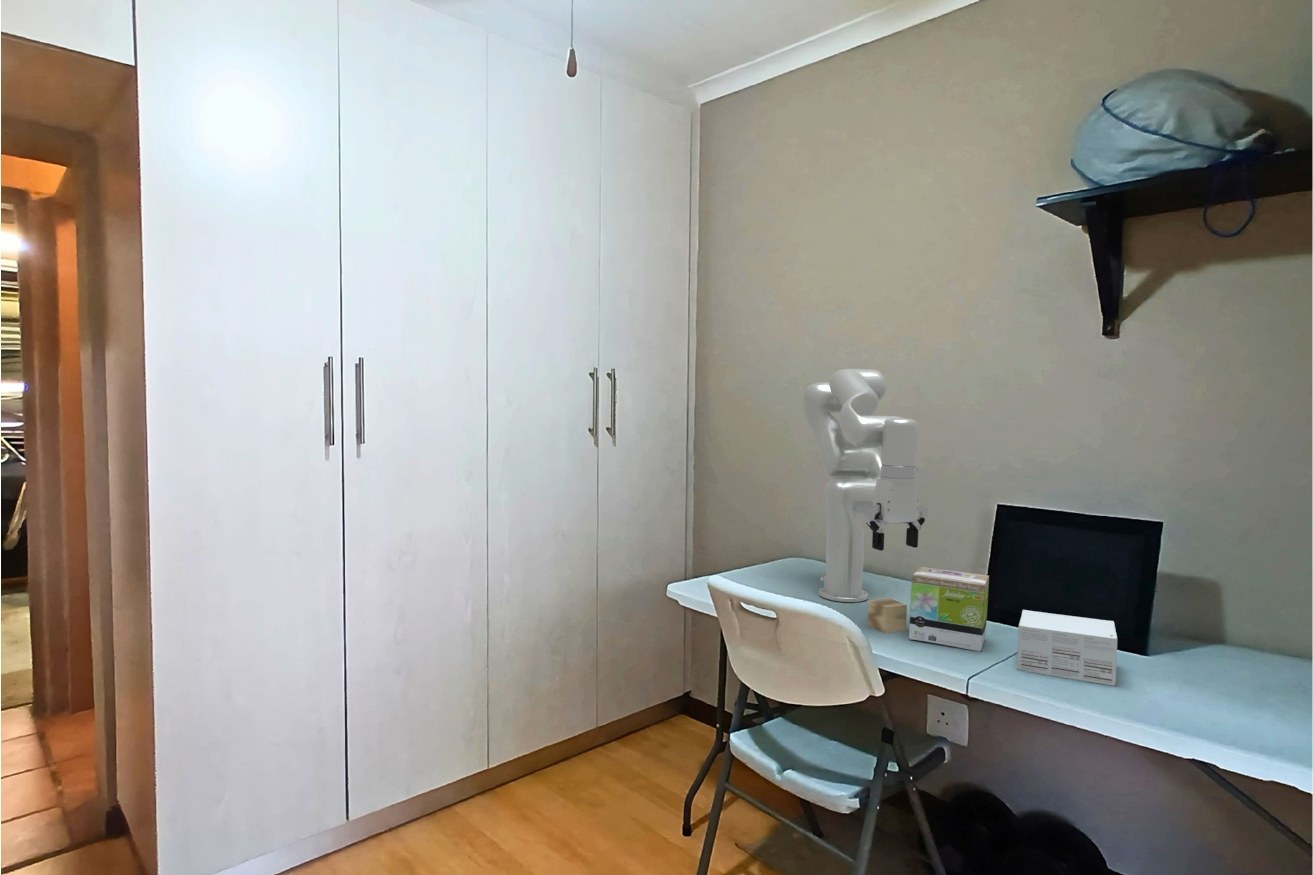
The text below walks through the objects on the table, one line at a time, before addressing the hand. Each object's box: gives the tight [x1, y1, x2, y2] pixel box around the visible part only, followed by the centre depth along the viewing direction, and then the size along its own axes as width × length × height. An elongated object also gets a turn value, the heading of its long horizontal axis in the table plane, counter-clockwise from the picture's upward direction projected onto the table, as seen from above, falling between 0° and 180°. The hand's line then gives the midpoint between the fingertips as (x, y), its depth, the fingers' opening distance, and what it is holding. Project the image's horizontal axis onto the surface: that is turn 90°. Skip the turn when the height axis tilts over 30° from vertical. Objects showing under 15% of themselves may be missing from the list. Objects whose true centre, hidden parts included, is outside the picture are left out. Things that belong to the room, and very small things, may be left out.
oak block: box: [867, 597, 908, 634], centre depth 176 cm, size 6×6×6 cm
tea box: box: [908, 566, 990, 653], centre depth 168 cm, size 15×10×15 cm, turn 62°
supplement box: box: [1016, 609, 1118, 687], centre depth 152 cm, size 17×13×9 cm
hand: (894, 547), depth 175 cm, fingers open, 9 cm apart
